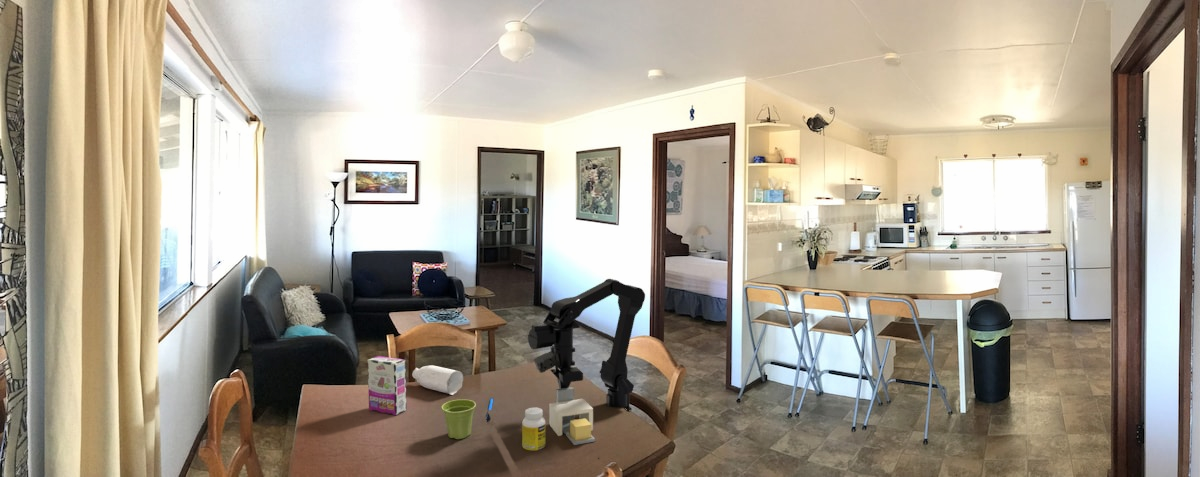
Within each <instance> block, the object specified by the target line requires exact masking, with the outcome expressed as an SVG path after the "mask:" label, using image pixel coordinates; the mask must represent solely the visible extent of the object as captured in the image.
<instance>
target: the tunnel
mask: <svg viewBox="0 0 1200 477" xmlns="http://www.w3.org/2000/svg"><path fill="white" fill-rule="evenodd" d="M548 409H549V421H548V422H549V426H550V427H551V429H552V430H553V431H554V433H555V434H556V435H557V436H558V437H560V436H563V431H562V417H564V416H570V415H574V416H575V415H578V417H579V418H578V419H583V418H586V419H587V421H588V422H589V423H590V424H591V431H594V408H593V407H592V406H591V405H590V403H588V402H587V401H586V400H585V399H584V398H579V399H574V400H570V401H563V402H551V403H549V407H548Z"/></svg>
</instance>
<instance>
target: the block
mask: <svg viewBox="0 0 1200 477" xmlns="http://www.w3.org/2000/svg"><path fill="white" fill-rule="evenodd" d="M570 435H571V437H572V438H573V439H574V440H575V441H578V440H584V439H590V438H591V435H592V430H591V424H590V423H589V422H588V421H587V419H586V418H583V419H579V418H578V419H575V420H571V421H570Z"/></svg>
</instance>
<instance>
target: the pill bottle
mask: <svg viewBox="0 0 1200 477" xmlns="http://www.w3.org/2000/svg"><path fill="white" fill-rule="evenodd" d="M543 415H544V413H543V409H542V408H540V407H529V408H526V409H525V410H524V418H523V420H522V421H521V426H522V427H521V435H522V436H521V437H522V438H521V439H522V440H521V446H522V448H523V449H524V450H526V451H531V452H533V451H539V450H543V449H544V448H545V447H546V419H545V418H544V417H543Z"/></svg>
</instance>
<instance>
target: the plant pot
mask: <svg viewBox="0 0 1200 477" xmlns="http://www.w3.org/2000/svg"><path fill="white" fill-rule="evenodd" d="M476 406H477V404H476V402H475V401H474V400H473V399H472V400H471V399H454V400H449V401H447V402H444V403H443V404H442V405H441V410H442V412H443V414H444V416H445V418H444V419H445V423H446V428H447V435H448V438H450V439H456V440H462V439H466V438H468V437H469V435H471V434H472V424H473V417H474V412H475V408H476Z"/></svg>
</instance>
